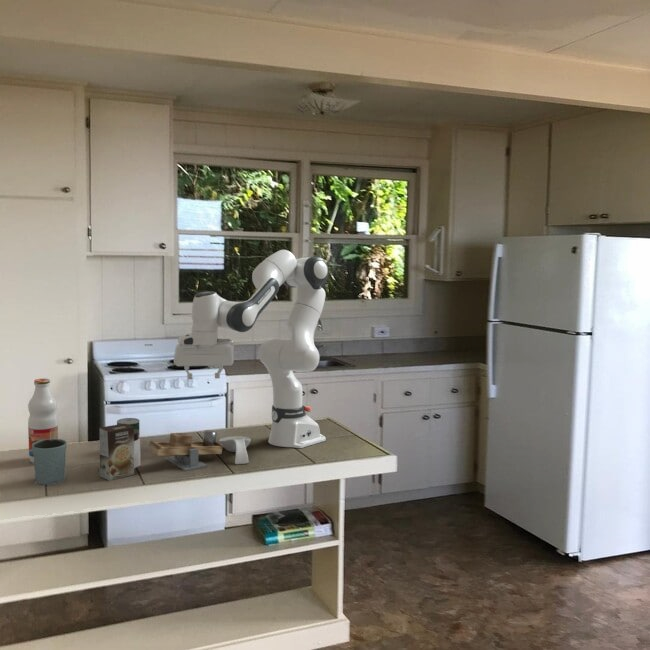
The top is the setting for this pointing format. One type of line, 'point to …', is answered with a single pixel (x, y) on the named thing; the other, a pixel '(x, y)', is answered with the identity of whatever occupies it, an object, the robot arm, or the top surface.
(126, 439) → the coffee box
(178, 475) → the top surface
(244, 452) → the spoon rest
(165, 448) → the beam
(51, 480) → the teal cup
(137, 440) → the jar
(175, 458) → the stand
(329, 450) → the top surface
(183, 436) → the block
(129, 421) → the canned tomato
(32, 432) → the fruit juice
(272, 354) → the robot arm
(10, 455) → the top surface
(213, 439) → the cylinder
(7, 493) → the top surface
